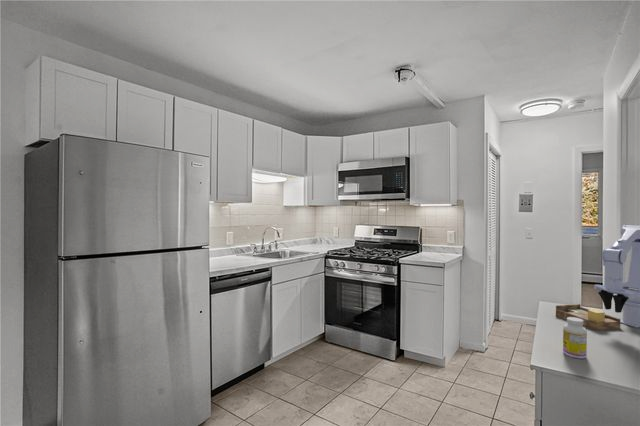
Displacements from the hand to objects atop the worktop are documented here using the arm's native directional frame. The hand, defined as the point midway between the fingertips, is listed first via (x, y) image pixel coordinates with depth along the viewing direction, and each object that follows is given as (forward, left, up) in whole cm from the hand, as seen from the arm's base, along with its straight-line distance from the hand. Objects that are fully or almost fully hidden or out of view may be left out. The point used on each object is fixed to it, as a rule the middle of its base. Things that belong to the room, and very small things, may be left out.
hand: (613, 310), depth 137 cm
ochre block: (0, -7, -6) cm, 9 cm away
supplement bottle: (+34, +14, -10) cm, 38 cm away
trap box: (-2, -14, -9) cm, 17 cm away
